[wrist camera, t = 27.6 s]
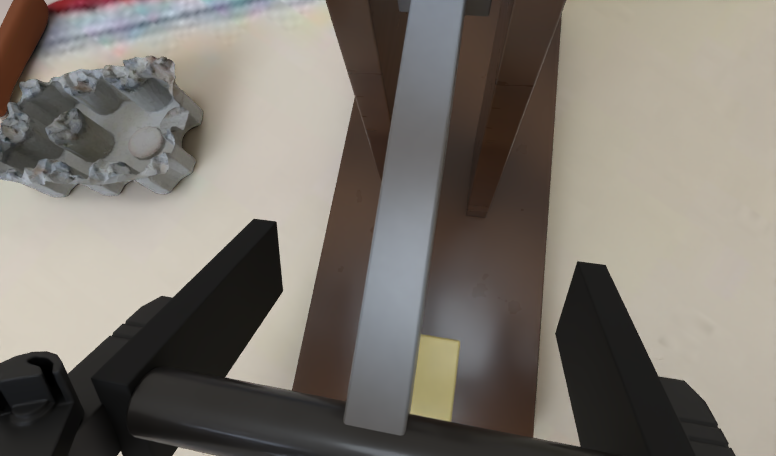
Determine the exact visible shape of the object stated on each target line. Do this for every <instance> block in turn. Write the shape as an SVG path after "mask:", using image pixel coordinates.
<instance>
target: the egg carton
mask: <svg viewBox="0 0 776 456" xmlns="http://www.w3.org/2000/svg"><path fill="white" fill-rule="evenodd" d="M123 63H124V66H112V65H106V66H105V67H104V69H95V70H84V69H79V70H76V71H73V72H70V73H66V74H64V75H62V76H61V77H53V78H51V80H50V82H48V83H45V82H42V81H40V80H37V79H29V80H27V81H26V82H20V84H19V87H20V89H21V91H22V93H23V95H22V97H21V100H20V101H19V102H18V103H14V102H8V104H7V107H8V111H9V116H8V117H7V118H6V119H5V120H3V122H2V123H1V128H0V179H2V180H7V181H14V182H18V183H22V184H24V185H26V186H28V187H31V188H33V189H36V190H38V191H40V192H42V193H44V194H48V195H50V196H52V197H66V196H67V195H69V193H70V191H71V190H72V189H73V188H74V187H75V186H76V185H77V184H82V185H84V186H86V187H88V188H90V189H92V190H94V191H97V192H99V193H100V194H102V195H107V196H112V195H113V196H117V195H119V193H120V192H121V191H122V189H123V187H124V185H126V184H127V183H129V182H130V181H132V180H135V181H137V182H138V183H140V184H141V185H143V186H145V187H146V188H148V189H150V190H151V191H153V192H155V193H158V194H166V193H170V192H171V191H172V189H173V188H174V186H175V185H177V183H178V182H179V181H180V180H181V179H182V178H184V177H185V176H187V175H189V174H191V173H192V172H193V168H194V165H195V163H196V160H195V159H194V157H192V156H191V155H190V154H188V153H187V152H186V151H185V150H184V149H183V148H182V139H183V135H184V134H185V133H186V132H187V131H188V130H189V129H191V128H192V127H195V126H198V125H200V124H201V122H202V117H203V111H202V110H201V109H200V108H199V106H198V105H197V104H196V103H195V102H194V101H193V100H192V99H191V98H190V97H189V96H188V95H187V94H185V92H184V91H183V90H181V89H180V88H179V87H178V85H177V84H176V83H175V78H176V77H175V64H174V62H173V61H172V60H170V59H167V58H166V57H161V58H156V57H153V56H146V57H145V58H137V57H135V58H133V59H129V60H123Z"/></svg>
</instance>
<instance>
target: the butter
mask: <svg viewBox="0 0 776 456" xmlns="http://www.w3.org/2000/svg"><path fill="white" fill-rule="evenodd" d="M459 350H460V341H459V340H454V339H447V338H441V337H435V336H429V335H423V334H421V338H420V345H419V352H418V360H417V367H416V374H415V381H414V389H413V396H412V403H411V411H410V414H414V415H419V416H424V417H429V418H434V419H439V420H444V421H450V422H451V419H452V411H453V402H454V394H455V385H456V376H457V368H458V359H459Z"/></svg>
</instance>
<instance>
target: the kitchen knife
mask: <svg viewBox="0 0 776 456" xmlns="http://www.w3.org/2000/svg"><path fill="white" fill-rule="evenodd" d="M47 22H48V7H47V4H46V3H45V1H44V0H13V2H12V4H11V6H10V8H9V10H8V12H7V14H6V17H5V18H4V20H3V23H2V25H1V27H0V117H2V116H4V115H5V114H6V112H7V109H8V107H7V104H8V102H9V101H10V97H11V94H12V92H13V89H14V87H15V85H16V83H17V81H18V79H19V77H20V75H21V73H22V71H23V69H24V67H25V65H26V64H27V62H28V60H29V58H30V56H31V54H32V53H33V51H34V49H35V47H36V45H37V44H38V42H39V40H40V38H41V36H42V34H43V32H44V30H45V28H46V25H47Z"/></svg>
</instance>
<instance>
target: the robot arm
mask: <svg viewBox="0 0 776 456" xmlns="http://www.w3.org/2000/svg"><path fill="white" fill-rule="evenodd" d="M282 292H283V286H282V275H281V265H280V254H279V244H278V233H277V223H276V222H275V221H267V220H259V219H253V220H252V221H251V222H250V223H249V224H248V225H247V226H246V227H245V228H244V229H243V230H242V231H241V232H240V233H239V234H238V235H237V236H236V237H235V238H234V239H233V240H232V241H231V242H230V243H229V244H228V245H227V246H225V247H224V248H223V249H222V250H221V251H220V252H219V253H218V254H217V255H216V256H215V257H214V258H213V259H212V260H211V261H210V262H209V263H208V264H207V265H206V266H205V267H204V268H203V269H202V270H201V271H200V272H199V273H198V274H197V275H196V276H195V277H194V278H193V279H192V280H191V281H190V282H189V283H187V284H186V285H185V286H184V287H183V288H182V289H181V290H180V291H179V292H178V293H177V294H176V295H175V296H174V297H173V298H171V297H165V296H161V297H159V298H157V299H155V300H153V301H151V302H150V303H148V304H146V305H144V306H142V307H141V308H140V309H139V310H137V311H136V312H135V313H134V314H133V315H132V316H131V317H130V318H129V319H128V320H126V323H125V324H122V325H121V326H120V327H119V328H118V329H117V330H115V331H114V332H113V335H112V336H109V337H108V338H107V339H106V340H104V341H103V342H102V343H101V344H100V345H99V346H98V347H97V348H96V349H95V350H94V351H92V352H91V353H90V354H89V355H88V356H87V357H86V358H85V359H84V360H83V361H81V362H80V363H79V364H78V365H77V366H76V367H75V368H74V369H73V370H72V371H70V372H69V373H68V374H67V372H66V370H65V368H64V365H63V363H62V361H61V360H60V358H59V357H58V355H56V354H53V353H50V352H47V351H46V352H31V353H27V354H23V355H19V356H15V357H13V358H11V359H9V360H6V361H4V362H2V363H0V456H117V455H118V454H119V452H120V451H121V452H122V454H123V456H172V455H173V454H174V452H175V451H176V449H177V448H178V447H176V446H171V445H167V444H162V443H158V442H154V441H149V440H145V439H140V438H136V437H134V436H133V435H132V434H131V433H130V432H129V431H128V429H127V426H126V412H127V407H128V404H129V401H130V398H131V396H132V394H133V392H134V390H135V388H136V386H137V385H138V383H139V382H140V381H141V379H142V378H143V377H144V376H145V375H146V374H147V373H148V372H150V371H151V370H153V369H155V368H157V367H161V366H168V367H173V368H178V369H183V370H188V371H194V372H199V373H204V374H209V375H214V376H219V377H224V378H225V377H226V375H227V374H228V372H229V371H230V369H231V368H232V366H233V365H234V363H235V362H236V360H237V359H238V357H239V356H240V354H241V353H242V351H243V350H244V348H245V347H246V345H247V344H248V342H249V341H250V339H251V338H252V336H253V335H254V334H255V332H256V331H257V329H258V328H259V326H260V325H261V323H262V322H263V320H264V319H265V317H266V316H267V314H268V313H269V311H270V310H271V308H272V307H273V305H274V304H275V302H276V301H277V299H278V298H279V296H280V295H281V293H282ZM555 335H556V339H557V344H558V348H559V352H560V357H561V361H562V366H563V370H564V374H565V379H566V383H567V388H568V392H569V397H570V401H571V405H572V410H573V414H574V419H575V423H576V427H577V432H578V436H579V441H580V445H581V447H583V448H588V449H593V450H598V451H603V452H608V453H613V454H618V455H624V456H735V454H734V452H733V450H732V448H729V447H728V444H729V443H728V441H727V440H726V438H725V436H724V434H723V432H722V431H721V429H719V428H718V424H717V422H716V420H715V418H714V416H713V415H712V413H711V411H710V409H709V407H708V406H707V404H706V402H705V401H704V400H703V399H702V398H701V397H700V396H699V395H698V394H697V393H696V392H695V391H694V390H693V389H692V388H691V387H690V386H689V385H688V384H687V383H686V382H685V381H682V380H676V379H670V378H664V377H658V375H657V373H656V371H655V368H654V366H653V364H652V362H651V360H650V358H649V356H648V354H647V352H646V349H645V347H644V345H643V343H642V341H641V339H640V337H639V335H638V333H637V330H636V328H635V326H634V324H633V322H632V320H631V318H630V316H629V314H628V311H627V309H626V307H625V305H624V303H623V301H622V299H621V297H620V295H619V293H618V290H617V288H616V286H615V284H614V282H613V280H612V278H611V276H610V274H609V271H608V269H607V267H606V265H601V264H593V263H586V262H578V261H577V265H576V268H575V271H574V274H573V278H572V281H571V284H570V287H569V291H568V294H567V297H566V300H565V304H564V307H563V310H562V313H561V317H560V320H559V323H558V326H557V330H556V333H555Z"/></svg>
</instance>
